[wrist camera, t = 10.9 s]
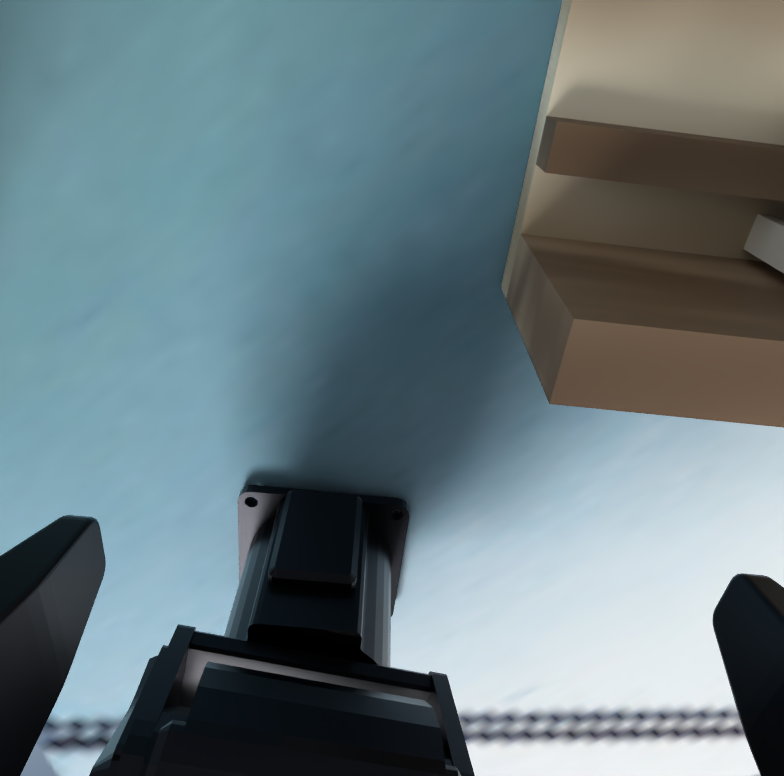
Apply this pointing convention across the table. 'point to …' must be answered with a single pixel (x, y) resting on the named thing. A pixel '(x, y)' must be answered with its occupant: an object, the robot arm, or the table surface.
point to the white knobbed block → (767, 240)
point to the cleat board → (655, 211)
